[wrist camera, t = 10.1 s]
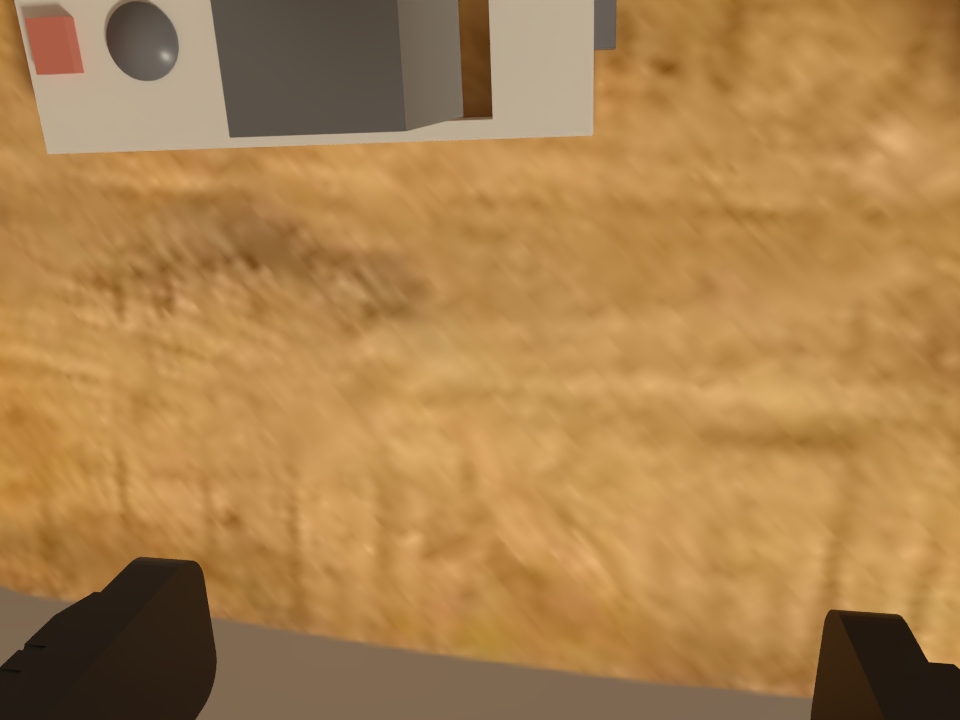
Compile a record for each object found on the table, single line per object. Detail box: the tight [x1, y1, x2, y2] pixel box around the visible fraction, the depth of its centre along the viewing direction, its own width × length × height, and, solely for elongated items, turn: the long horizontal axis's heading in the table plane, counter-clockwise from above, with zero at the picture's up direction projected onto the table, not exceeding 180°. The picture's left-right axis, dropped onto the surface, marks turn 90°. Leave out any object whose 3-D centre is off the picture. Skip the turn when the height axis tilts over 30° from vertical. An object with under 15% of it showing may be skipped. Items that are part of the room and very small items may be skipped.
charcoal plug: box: [210, 0, 463, 138], centre depth 20 cm, size 4×6×8 cm, turn 3°
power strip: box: [14, 0, 616, 154], centre depth 30 cm, size 23×8×4 cm, turn 92°
